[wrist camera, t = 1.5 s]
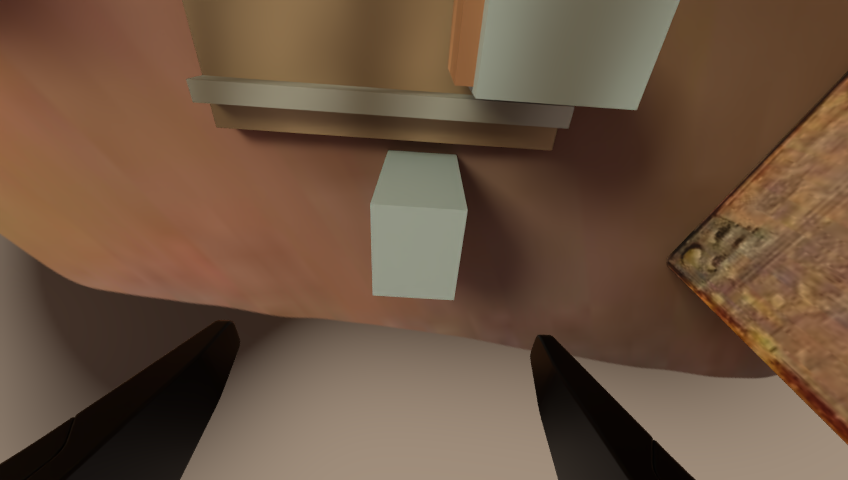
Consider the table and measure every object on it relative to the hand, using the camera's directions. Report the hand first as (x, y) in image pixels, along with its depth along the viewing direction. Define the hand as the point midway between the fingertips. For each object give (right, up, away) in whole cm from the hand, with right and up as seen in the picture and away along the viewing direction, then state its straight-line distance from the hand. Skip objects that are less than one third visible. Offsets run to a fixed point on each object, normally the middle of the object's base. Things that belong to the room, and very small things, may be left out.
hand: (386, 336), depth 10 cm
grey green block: (+1, +6, +11) cm, 12 cm away
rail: (-1, +14, +6) cm, 15 cm away
